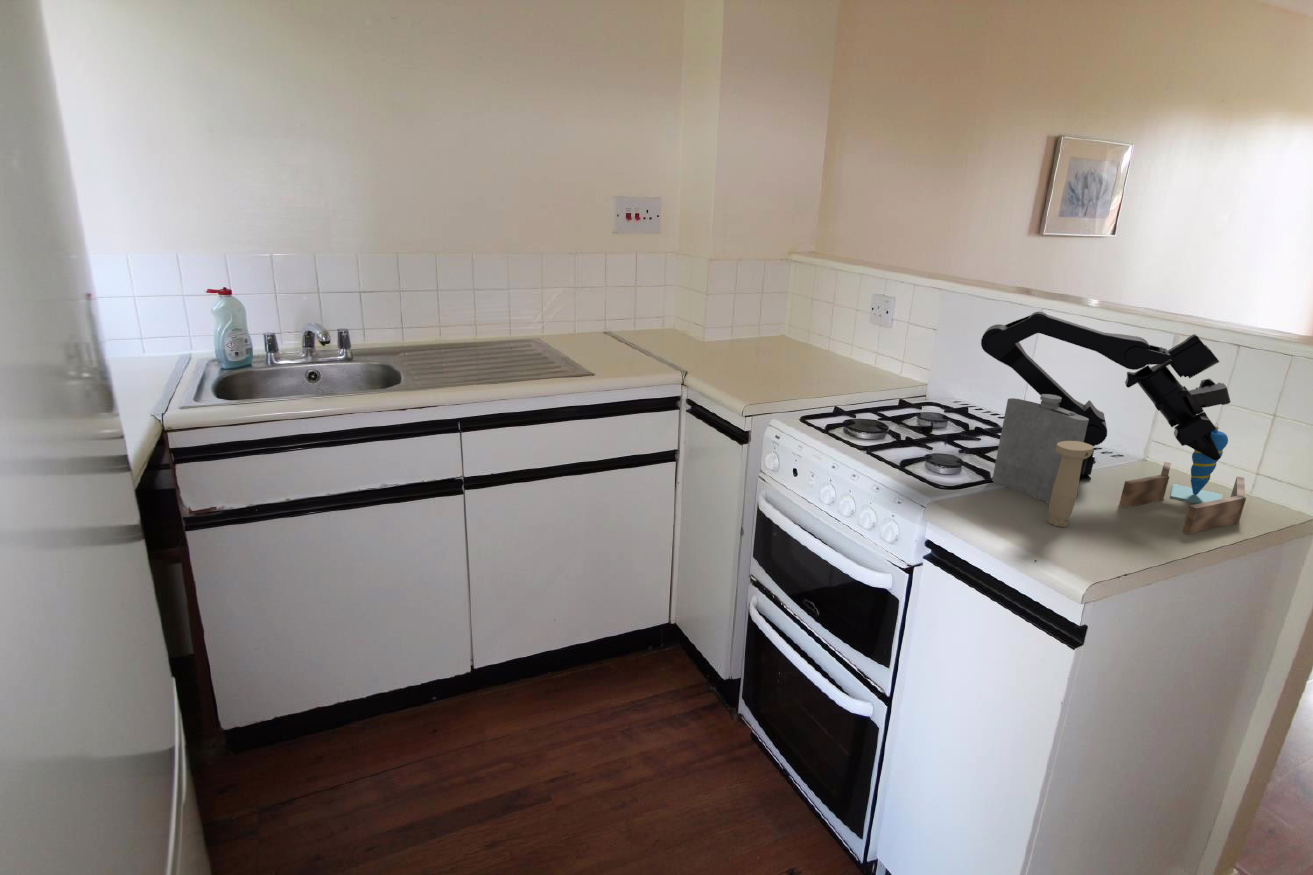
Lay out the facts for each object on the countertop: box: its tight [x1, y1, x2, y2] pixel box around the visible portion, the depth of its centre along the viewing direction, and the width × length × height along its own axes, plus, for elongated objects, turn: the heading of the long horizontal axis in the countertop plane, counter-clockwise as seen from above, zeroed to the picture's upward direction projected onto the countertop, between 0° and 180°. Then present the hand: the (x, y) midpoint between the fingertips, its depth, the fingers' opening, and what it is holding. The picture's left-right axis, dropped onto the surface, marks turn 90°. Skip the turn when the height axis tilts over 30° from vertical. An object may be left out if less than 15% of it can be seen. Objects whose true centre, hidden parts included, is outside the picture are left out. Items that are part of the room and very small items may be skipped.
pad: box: [1169, 483, 1223, 504], centre depth 152 cm, size 8×8×1 cm
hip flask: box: [991, 394, 1089, 505], centre depth 148 cm, size 16×4×20 cm, turn 32°
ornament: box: [1190, 423, 1229, 495], centre depth 150 cm, size 5×5×15 cm
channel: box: [1118, 461, 1247, 535], centre depth 145 cm, size 25×26×5 cm
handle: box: [1048, 441, 1095, 528], centre depth 134 cm, size 5×6×15 cm
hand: (1215, 455), depth 149 cm, fingers closed on ornament, 5 cm apart
